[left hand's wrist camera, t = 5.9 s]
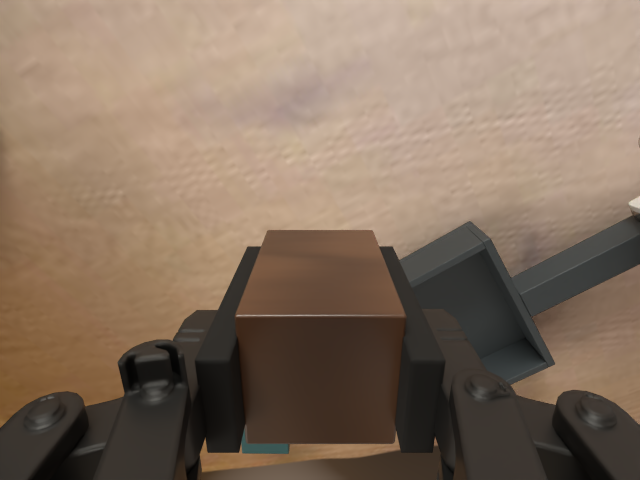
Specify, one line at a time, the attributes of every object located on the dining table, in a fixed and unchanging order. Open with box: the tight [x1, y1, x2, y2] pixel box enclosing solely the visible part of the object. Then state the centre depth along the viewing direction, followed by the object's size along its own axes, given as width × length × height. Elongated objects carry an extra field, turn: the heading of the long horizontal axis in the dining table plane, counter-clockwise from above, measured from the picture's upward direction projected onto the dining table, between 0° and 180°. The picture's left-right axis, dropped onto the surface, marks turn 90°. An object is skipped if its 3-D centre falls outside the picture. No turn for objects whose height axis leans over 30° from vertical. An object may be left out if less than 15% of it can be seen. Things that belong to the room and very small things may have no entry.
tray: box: [399, 215, 640, 385], centre depth 31 cm, size 26×13×4 cm, turn 123°
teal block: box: [241, 428, 290, 454], centre depth 35 cm, size 4×4×6 cm
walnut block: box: [234, 230, 407, 444], centre depth 12 cm, size 4×4×6 cm
